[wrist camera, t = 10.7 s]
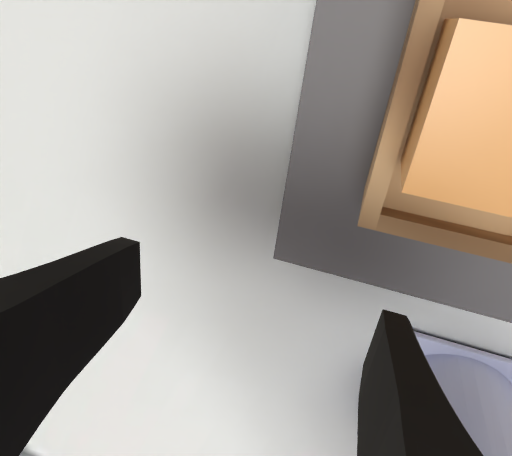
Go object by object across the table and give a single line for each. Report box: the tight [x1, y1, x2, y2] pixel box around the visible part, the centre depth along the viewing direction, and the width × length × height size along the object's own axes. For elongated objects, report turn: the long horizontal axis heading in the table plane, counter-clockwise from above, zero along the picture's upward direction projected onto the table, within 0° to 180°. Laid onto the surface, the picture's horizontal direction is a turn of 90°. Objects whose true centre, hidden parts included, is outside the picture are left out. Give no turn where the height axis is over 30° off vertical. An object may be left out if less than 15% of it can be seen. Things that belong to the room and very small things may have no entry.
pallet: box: [357, 0, 512, 264], centre depth 12 cm, size 9×5×4 cm, turn 173°
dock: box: [273, 0, 512, 323], centre depth 15 cm, size 18×12×3 cm, turn 173°
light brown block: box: [401, 18, 512, 218], centre depth 10 cm, size 4×4×3 cm
